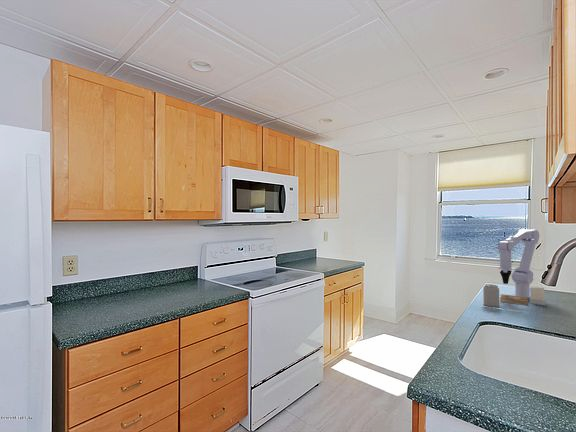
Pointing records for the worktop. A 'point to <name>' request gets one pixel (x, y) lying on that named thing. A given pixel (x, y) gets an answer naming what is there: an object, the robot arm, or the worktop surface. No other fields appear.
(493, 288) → the can
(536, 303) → the stand
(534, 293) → the beige rectangular block
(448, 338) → the worktop surface
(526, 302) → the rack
